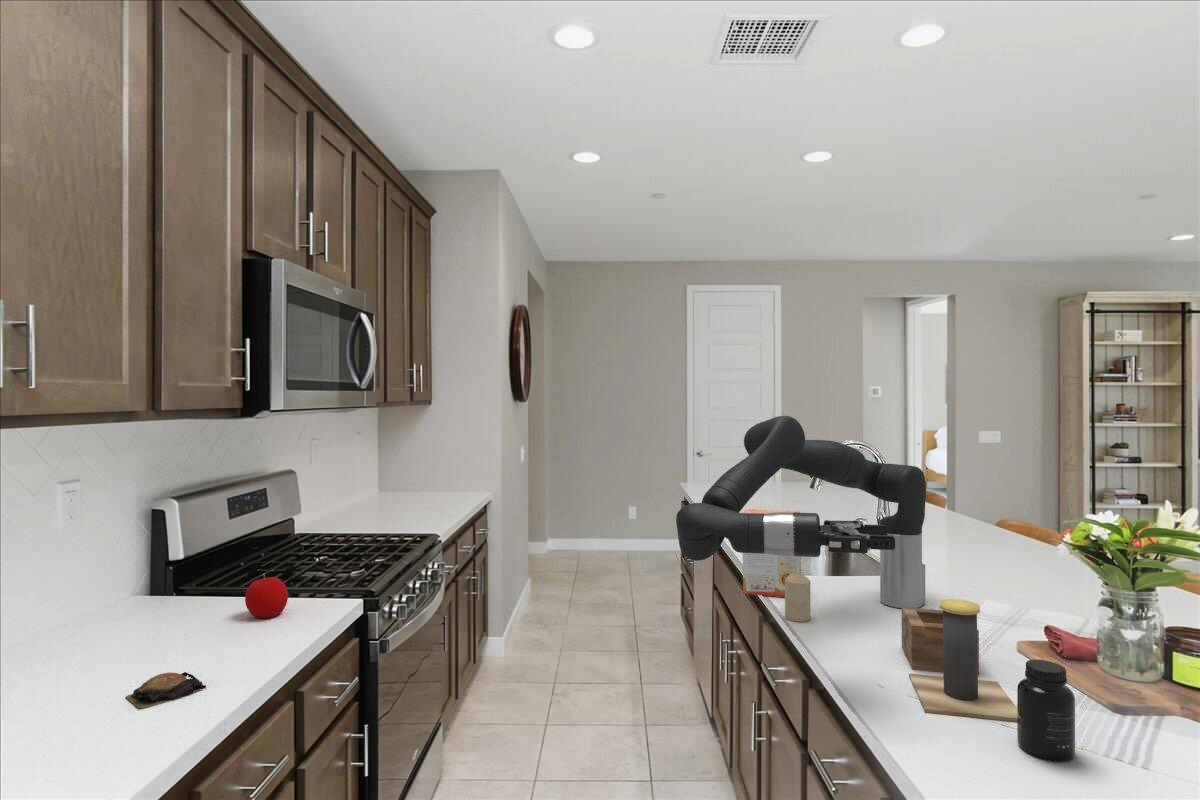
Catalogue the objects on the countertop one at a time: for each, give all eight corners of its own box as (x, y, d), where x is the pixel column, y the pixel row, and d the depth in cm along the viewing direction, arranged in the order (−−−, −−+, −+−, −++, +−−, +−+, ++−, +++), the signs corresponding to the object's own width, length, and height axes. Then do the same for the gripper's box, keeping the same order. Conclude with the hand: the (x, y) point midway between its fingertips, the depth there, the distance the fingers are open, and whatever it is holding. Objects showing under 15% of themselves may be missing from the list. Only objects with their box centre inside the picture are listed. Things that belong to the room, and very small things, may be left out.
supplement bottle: (1006, 739, 99) (1005, 656, 98) (1050, 737, 99) (1050, 655, 99) (1040, 765, 92) (1040, 676, 92) (1087, 762, 92) (1087, 674, 92)
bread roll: (139, 715, 109) (138, 692, 109) (123, 699, 114) (122, 678, 114) (210, 692, 117) (210, 671, 117) (192, 679, 122) (192, 658, 122)
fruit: (238, 616, 156) (238, 572, 156) (279, 607, 163) (278, 565, 163) (254, 625, 150) (253, 580, 150) (295, 615, 157) (295, 572, 156)
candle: (811, 623, 149) (811, 577, 149) (785, 621, 150) (785, 576, 150) (809, 615, 155) (809, 571, 155) (784, 613, 156) (784, 570, 156)
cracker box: (801, 593, 172) (801, 510, 172) (800, 599, 166) (800, 514, 166) (745, 588, 177) (745, 507, 176) (742, 594, 171) (742, 511, 171)
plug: (959, 684, 116) (958, 597, 116) (989, 698, 110) (988, 607, 110) (933, 689, 114) (931, 601, 114) (962, 704, 108) (961, 611, 108)
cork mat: (908, 676, 120) (908, 673, 120) (997, 685, 117) (997, 681, 117) (925, 712, 107) (925, 708, 107) (1025, 722, 103) (1025, 719, 103)
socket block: (901, 647, 134) (901, 607, 134) (962, 652, 132) (962, 611, 132) (911, 669, 124) (911, 625, 124) (978, 675, 121) (978, 630, 121)
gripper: (791, 520, 112) (897, 523, 108) (790, 505, 126) (884, 507, 121) (792, 566, 112) (898, 570, 108) (791, 546, 126) (885, 549, 122)
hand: (890, 537), depth 115 cm, fingers open, 8 cm apart
